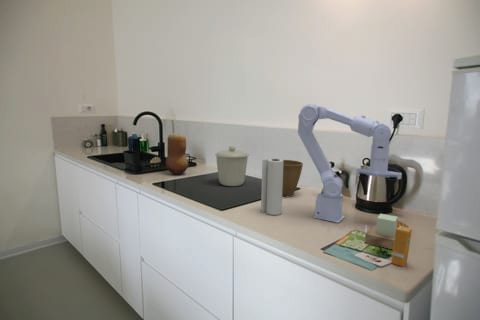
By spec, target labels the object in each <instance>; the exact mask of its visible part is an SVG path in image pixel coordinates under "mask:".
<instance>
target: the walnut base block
mask: <svg viewBox="0 0 480 320" xmlns="http://www.w3.org/2000/svg"><path fill="white" fill-rule="evenodd" d="M376 226H377V224H372V225H371V227H370V228H369V229H368V230H367V231H366V232H365V234H364V244H367V245H372V246H376V247H379V246H380V248H383V247H384V248H383V249H387V248H388V249H389V250H391V249H392V250H391V251H393V246H394V239H395V235H394V237H390V236H386V235H381V234H377V233H376Z"/></svg>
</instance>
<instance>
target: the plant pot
mask: <svg viewBox="0 0 480 320" xmlns="http://www.w3.org/2000/svg"><path fill="white" fill-rule="evenodd" d="M282 160H283V188H282V197H283V196H290V197H293V196H294V193H295V191H296V189H297V186H298V184H299V181H300V178H301V175H302V172H303V171H302V170H303V166H304V163H303V162H302V161H298V160H292V159H282ZM292 195H293V196H292Z"/></svg>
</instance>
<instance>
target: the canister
mask: <svg viewBox="0 0 480 320" xmlns="http://www.w3.org/2000/svg"><path fill="white" fill-rule="evenodd" d="M214 155H215V157H216V167H217V175H218V181H219V183H220V185H222V186H226V187H238V186H242V185H243V184H244V183H245V180H246V173H247V166H248V158H249V156H250V154H249V153H248V152H246V151H243V150H236V147H235V146H234V145H229V147H228V149H227V150H226V149H225V150H220V151H218V152H216V153H215V154H214Z"/></svg>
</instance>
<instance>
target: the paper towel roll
mask: <svg viewBox="0 0 480 320" xmlns="http://www.w3.org/2000/svg"><path fill="white" fill-rule="evenodd" d="M283 160H284V159H279V158H276V159H275V158H272V159H271V158H270V159H262V161H261V163H262V164H261V166H262V167H261V195H260V196H261V197H260V199H261V200H260V201H261V202H260V204H261V205H260V212H261V213H263V212H266V214H267V215H271V216H279V215H282V210H283V196H282V188H283Z"/></svg>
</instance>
